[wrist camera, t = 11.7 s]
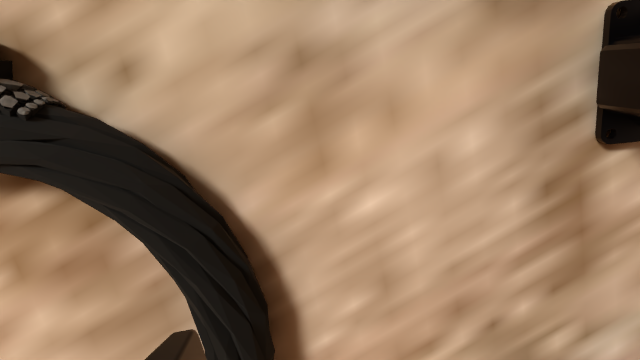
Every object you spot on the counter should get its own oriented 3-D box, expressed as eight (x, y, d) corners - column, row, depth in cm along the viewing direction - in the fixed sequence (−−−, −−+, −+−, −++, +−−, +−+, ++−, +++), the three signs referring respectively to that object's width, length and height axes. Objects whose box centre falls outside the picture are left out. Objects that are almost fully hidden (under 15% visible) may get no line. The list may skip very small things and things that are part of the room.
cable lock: (-206, 581, 23) (-477, 24, 15) (-134, 511, 27) (-323, 32, 19) (277, 577, 24) (258, 27, 16) (282, 508, 27) (269, 34, 19)
